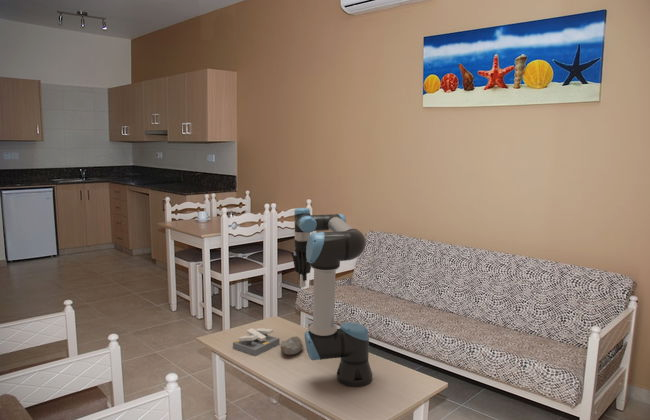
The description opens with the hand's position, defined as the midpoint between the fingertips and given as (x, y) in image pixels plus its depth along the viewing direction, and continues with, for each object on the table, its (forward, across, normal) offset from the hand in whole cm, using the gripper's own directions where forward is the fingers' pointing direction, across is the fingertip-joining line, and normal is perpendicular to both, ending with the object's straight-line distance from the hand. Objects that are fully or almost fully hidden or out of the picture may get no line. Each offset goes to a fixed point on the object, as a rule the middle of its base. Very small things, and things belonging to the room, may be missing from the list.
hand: (302, 286), depth 244 cm
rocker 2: (+23, +15, +18) cm, 33 cm away
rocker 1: (+23, +15, +24) cm, 36 cm away
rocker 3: (+23, +15, +12) cm, 30 cm away
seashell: (+29, -3, +13) cm, 32 cm away
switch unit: (+28, +15, +18) cm, 37 cm away
